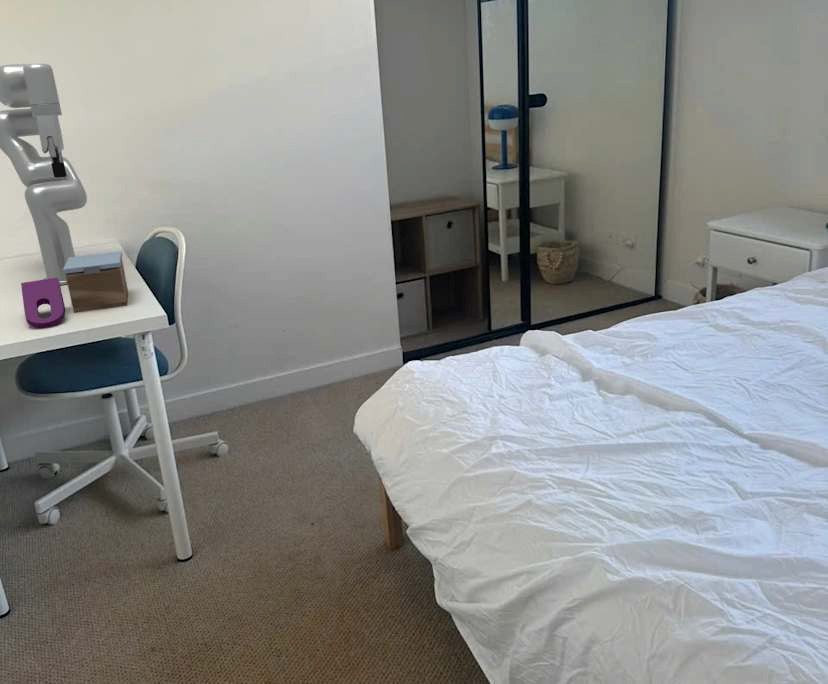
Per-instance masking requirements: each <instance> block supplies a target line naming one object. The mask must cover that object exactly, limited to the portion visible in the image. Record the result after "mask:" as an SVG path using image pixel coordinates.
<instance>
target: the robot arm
mask: <svg viewBox="0 0 828 684" xmlns="http://www.w3.org/2000/svg"><path fill="white" fill-rule="evenodd" d="M0 103H1V104H3V105H4V106H5V107H8V108H12V109H5V110H4V109H3V110H0V150H1V151H2V152H3V153H4V154H5V155H6V156H7V157H8V159H9V160H10V161H11V164H12V166H13V168H14V170H15V171H16V174H17V176H18V178H19V180H20V181H21V183H22V184H23V185H24V186H25V187H26V189H25V190H24V199H25V202H26V205H27V207H28V210H29V213H30V214H31V218H32V221H33V225H34V228H35V233H36V236H37V240H38V244H39V245H38V246H39V248H40V253H41V258H42V262H43V266H44V271H45V276H46V277H44V278H42V280H44V279H51V278H58V280H59V284H60V286H64V285H68V284H67V280H66V274H64V273H63V268H64V266H65V264H66V262H67V260H68V258H69V257H76V255H75V251H74V247H73V241H72V237H71V231H70V228H69V225H68V223H67V222H66V221H65V220H64V219H63V218H62V217H60V216H59V215H58V213H62V212H67V211H73V210H74V211H75V210H78V209H83V208H84V207H85V206H86V205H87V203H88V196H87V193H86V190H85V187H84V185H83V183H82V182H81V180H80V177H79V176H78V174H77V172H76V171H75V168H74V167H73V165H72V163H71V162H70V160H69V159H68V158H67V157H64V156H63V153H62V151H63V150H64V140H63V135H62V129H61V124H60V119H59V116H62V115H63V113H62V109H61V105H60V98H59V94H58V90H57V84H56V79H55V75H54V70H53V68H52V66H51V65H50V64H48V63H25V64H24V63H21V64H18V63H17V64H4V65H0ZM32 136H33V137H34V136H39V141H40V145H41V152H42V153H43V154H47V153H48V154H49V156H40V154H39V151H38V150H37V149H36V148H35V146H33V145H32V144H31V143H30V142H28V141H26V140H24V139H22V138H21V137H32Z"/></svg>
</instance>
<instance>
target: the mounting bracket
mask: <svg viewBox="0 0 828 684" xmlns="http://www.w3.org/2000/svg"><path fill="white" fill-rule="evenodd" d="M43 279H44V278H43ZM43 279H40V280H32V281H25V282H20V286H21V287H20V288H21V295H22V303H23V310H24V311H23V312H24V316H25V319H26V323H27V324H28V326H30V327H31V328H34V329H47V328H48V329H49V328H52V327H56V326H58V325H60V324H61V323H62V322H63V321H64V320H65V317H66V307H65V302H64V297H63V292H62V288H61V285H60V284H59V280H58V278H51V279H44V280H43ZM42 305H48V306H49V307H50V313H51V314H50V316H48V317H47V318H40V312H39V307H41V306H42Z"/></svg>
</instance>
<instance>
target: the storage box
mask: <svg viewBox="0 0 828 684" xmlns="http://www.w3.org/2000/svg"><path fill="white" fill-rule="evenodd" d="M66 280H67V284H66V285H67V288H68V292H69V297H70V301H71V306H72V311H73V313H74V314H75V313H82V312H83V313H84V312H90V311H98V310H105V309H112V308H121V307H127V306H128V297H129V288H128V283H127V278H126V273H125V268H124V262H123V259H122V260H121V265H120V267H115V268H107V269H100V273H95V274H86V275H85V273H84V271H82V272H74V273H66Z"/></svg>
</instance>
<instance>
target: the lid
mask: <svg viewBox="0 0 828 684" xmlns="http://www.w3.org/2000/svg"><path fill="white" fill-rule="evenodd" d="M121 260H122V261H123V251H122V250H119V251H112V252H103V253H95V254H85V255H77V256H76V255H75V257H69V258H68V260H67V262H66V264H65V266H64V268H63V273H64V274H66V273H74V272H82V271H84V273H85V275H86V274H95V273H100V269H107V268H115V267H120V265H121Z"/></svg>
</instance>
